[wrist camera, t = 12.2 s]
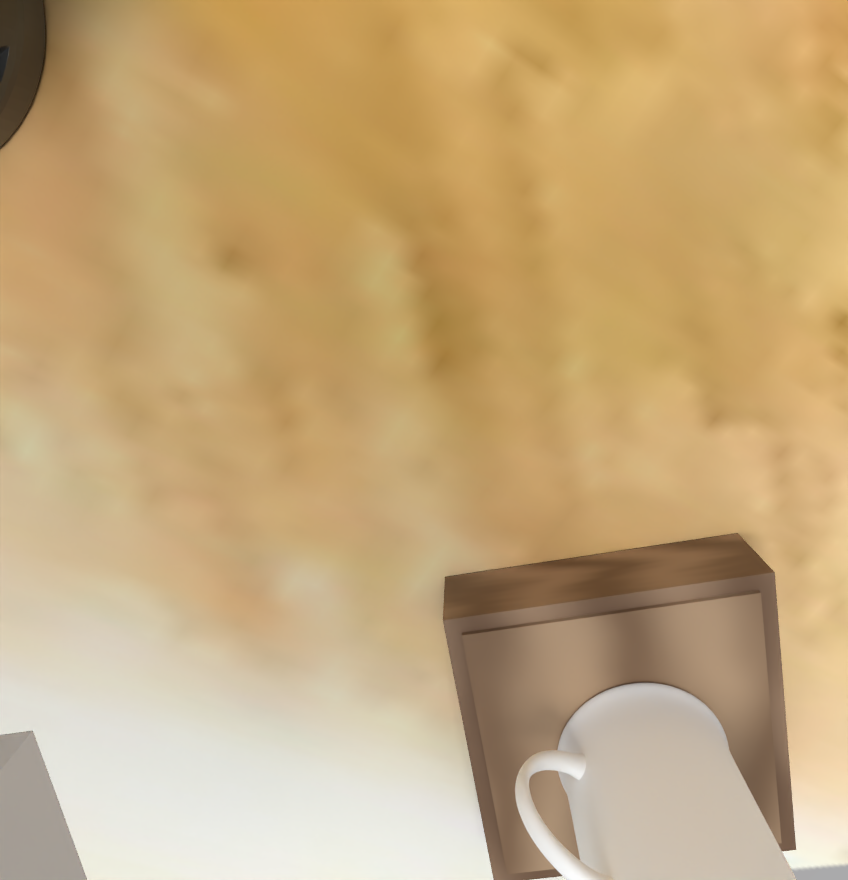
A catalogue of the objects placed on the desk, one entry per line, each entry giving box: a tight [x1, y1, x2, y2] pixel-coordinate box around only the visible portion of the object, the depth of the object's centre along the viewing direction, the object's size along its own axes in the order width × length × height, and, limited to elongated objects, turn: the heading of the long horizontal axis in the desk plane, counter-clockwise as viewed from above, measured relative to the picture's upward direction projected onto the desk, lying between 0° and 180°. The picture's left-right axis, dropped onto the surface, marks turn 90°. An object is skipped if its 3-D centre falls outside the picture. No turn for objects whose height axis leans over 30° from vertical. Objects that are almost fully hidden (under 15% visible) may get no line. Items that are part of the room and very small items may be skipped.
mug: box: [515, 683, 797, 880], centre depth 33 cm, size 12×8×12 cm
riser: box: [443, 533, 796, 880], centre depth 41 cm, size 16×16×5 cm
